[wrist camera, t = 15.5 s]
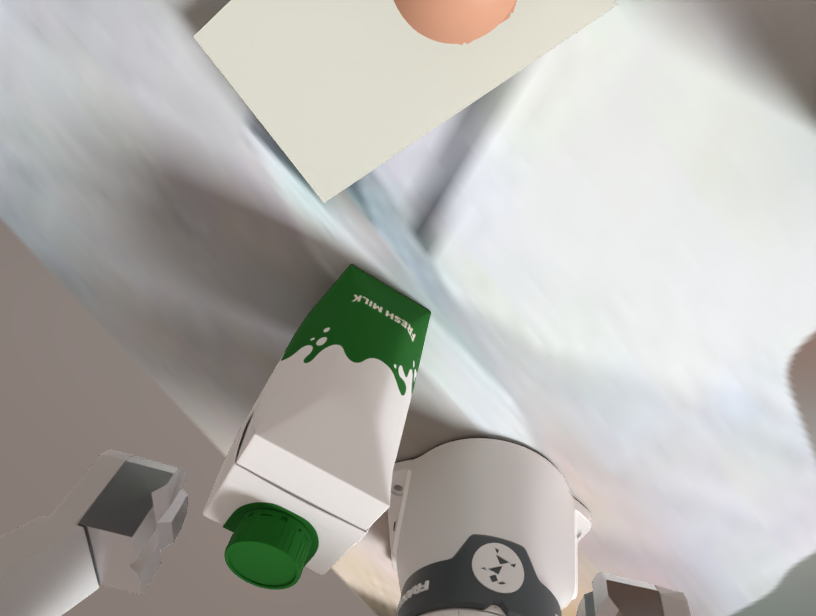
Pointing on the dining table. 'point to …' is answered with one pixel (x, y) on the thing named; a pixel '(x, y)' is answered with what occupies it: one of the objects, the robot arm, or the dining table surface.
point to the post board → (368, 73)
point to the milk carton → (322, 435)
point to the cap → (455, 18)
